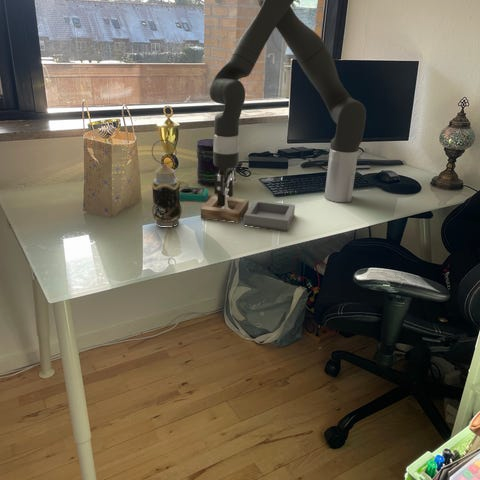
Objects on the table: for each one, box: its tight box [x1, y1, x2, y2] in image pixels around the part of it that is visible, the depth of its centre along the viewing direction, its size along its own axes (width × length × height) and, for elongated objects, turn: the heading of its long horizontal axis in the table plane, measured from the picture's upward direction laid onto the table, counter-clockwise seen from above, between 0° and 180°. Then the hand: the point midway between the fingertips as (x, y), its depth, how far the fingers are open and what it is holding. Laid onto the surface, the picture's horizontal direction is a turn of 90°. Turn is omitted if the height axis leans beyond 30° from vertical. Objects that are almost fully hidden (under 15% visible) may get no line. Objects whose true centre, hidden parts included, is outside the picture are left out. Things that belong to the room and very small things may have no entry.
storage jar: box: [196, 138, 219, 187], centre depth 168 cm, size 10×10×15 cm
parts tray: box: [243, 199, 296, 233], centre depth 139 cm, size 13×13×4 cm
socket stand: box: [200, 195, 250, 223], centre depth 144 cm, size 12×12×3 cm
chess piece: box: [223, 188, 230, 209], centre depth 142 cm, size 5×5×10 cm
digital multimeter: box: [179, 186, 209, 202], centre depth 156 cm, size 7×15×3 cm, turn 87°
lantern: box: [151, 139, 183, 226], centre depth 131 cm, size 9×8×25 cm
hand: (225, 200), depth 143 cm, fingers open, 8 cm apart
